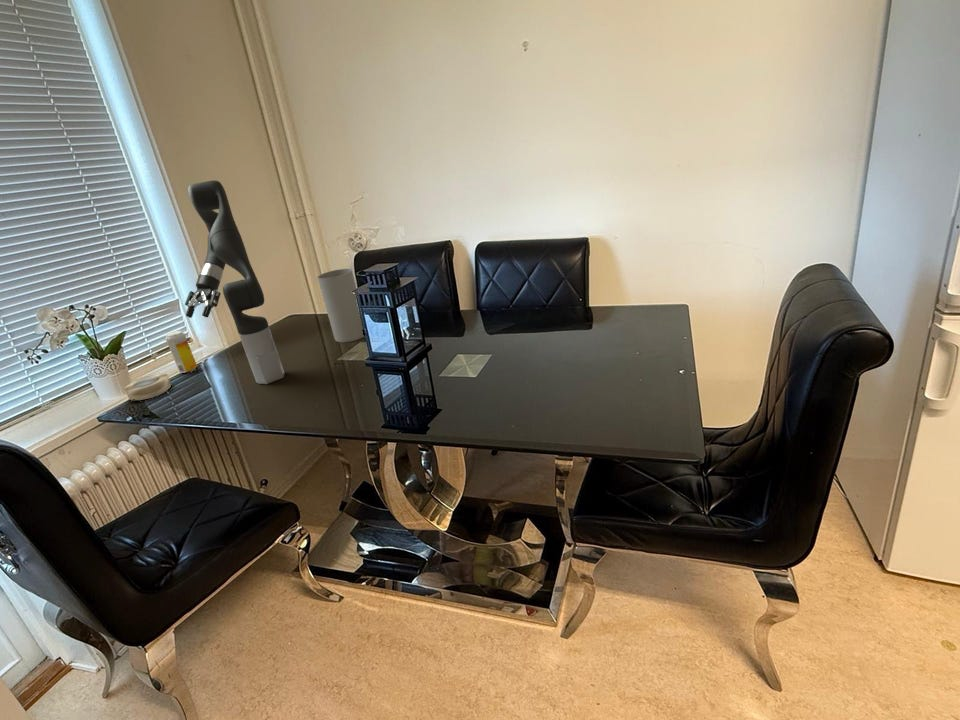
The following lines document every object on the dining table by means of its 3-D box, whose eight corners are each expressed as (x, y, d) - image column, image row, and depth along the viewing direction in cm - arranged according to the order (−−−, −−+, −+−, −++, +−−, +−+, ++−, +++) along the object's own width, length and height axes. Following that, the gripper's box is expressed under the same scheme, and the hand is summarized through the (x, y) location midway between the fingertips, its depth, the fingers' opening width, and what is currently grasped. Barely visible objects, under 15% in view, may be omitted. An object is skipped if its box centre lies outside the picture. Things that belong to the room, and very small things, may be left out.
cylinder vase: (354, 329, 207) (338, 268, 197) (374, 332, 199) (358, 269, 189) (328, 341, 198) (310, 277, 189) (348, 345, 191) (330, 279, 181)
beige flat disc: (175, 390, 176) (170, 379, 174) (132, 405, 169) (126, 394, 167) (168, 380, 185) (163, 369, 184) (127, 394, 179) (122, 384, 177)
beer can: (201, 366, 194) (186, 329, 188) (191, 373, 188) (176, 335, 182) (186, 368, 195) (171, 331, 189) (176, 375, 189) (160, 337, 183)
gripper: (188, 274, 198) (174, 313, 193) (215, 272, 193) (202, 312, 188) (204, 283, 205) (191, 321, 200) (231, 281, 200) (218, 320, 194)
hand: (196, 316), depth 194 cm, fingers open, 8 cm apart
